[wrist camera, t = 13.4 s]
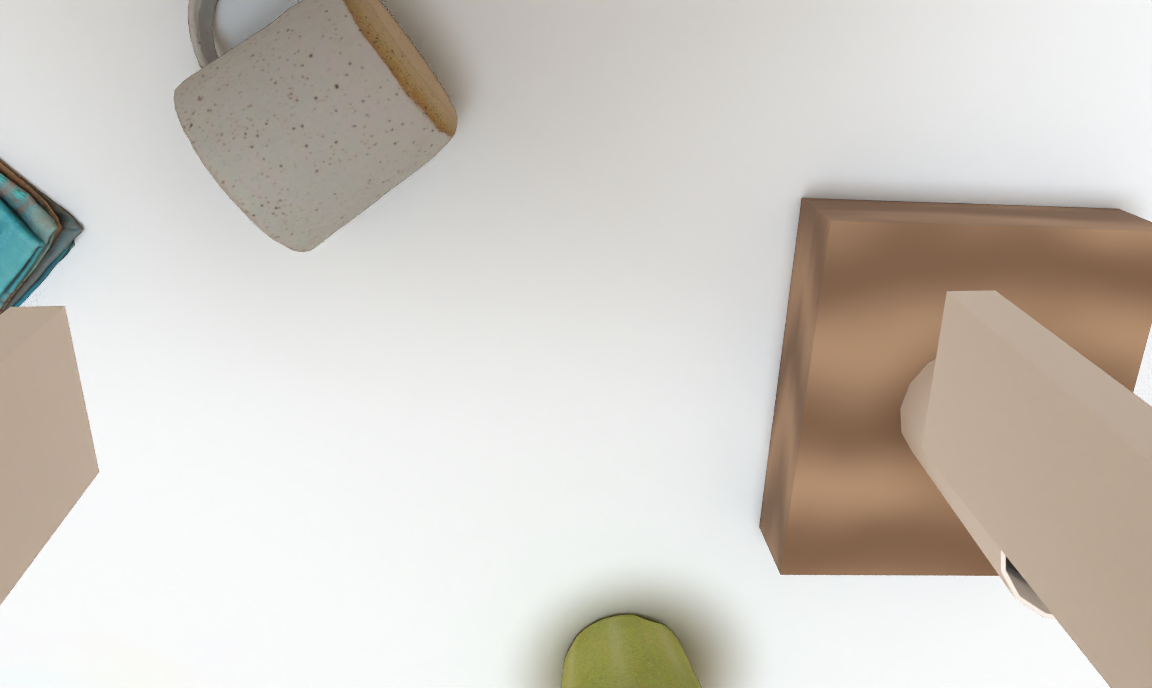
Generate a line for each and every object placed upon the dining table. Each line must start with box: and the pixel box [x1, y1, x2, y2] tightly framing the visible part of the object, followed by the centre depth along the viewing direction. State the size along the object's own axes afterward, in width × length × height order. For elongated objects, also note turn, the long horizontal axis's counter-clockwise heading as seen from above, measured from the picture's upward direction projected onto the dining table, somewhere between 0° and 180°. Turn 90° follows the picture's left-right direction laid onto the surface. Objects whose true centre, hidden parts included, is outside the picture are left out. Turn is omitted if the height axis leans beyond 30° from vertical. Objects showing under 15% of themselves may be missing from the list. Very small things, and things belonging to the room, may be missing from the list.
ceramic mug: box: [174, 0, 457, 252], centre depth 36 cm, size 10×8×7 cm
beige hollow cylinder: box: [900, 359, 1056, 619], centre depth 37 cm, size 7×7×10 cm
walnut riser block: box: [759, 198, 1152, 576], centre depth 43 cm, size 16×14×4 cm
